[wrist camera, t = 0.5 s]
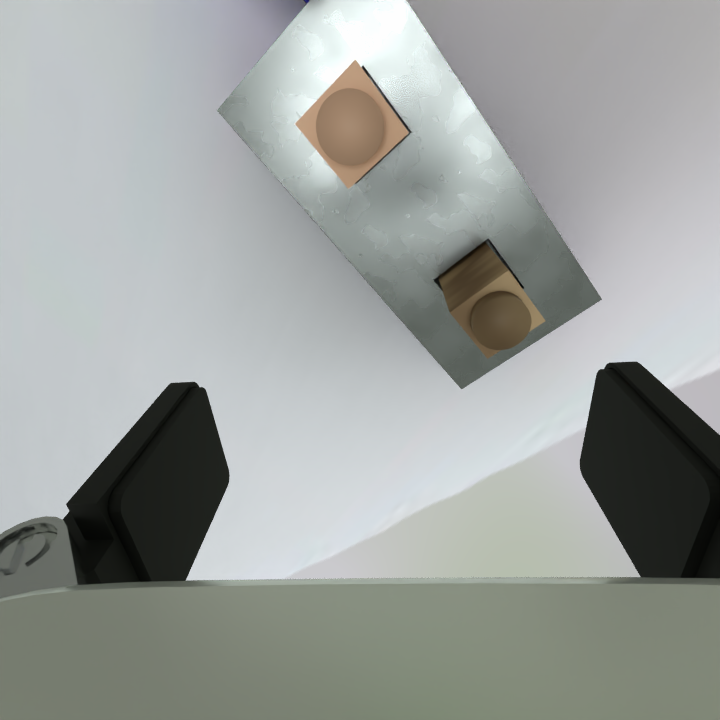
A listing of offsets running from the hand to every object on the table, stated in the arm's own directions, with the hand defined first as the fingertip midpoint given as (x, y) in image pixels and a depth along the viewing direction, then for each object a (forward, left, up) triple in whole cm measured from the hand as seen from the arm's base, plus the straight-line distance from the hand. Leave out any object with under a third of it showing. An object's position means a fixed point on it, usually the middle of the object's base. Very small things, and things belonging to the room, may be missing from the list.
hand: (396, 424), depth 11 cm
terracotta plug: (-3, -6, -26) cm, 26 cm away
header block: (-3, 0, -27) cm, 27 cm away
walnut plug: (-3, +7, -26) cm, 27 cm away
